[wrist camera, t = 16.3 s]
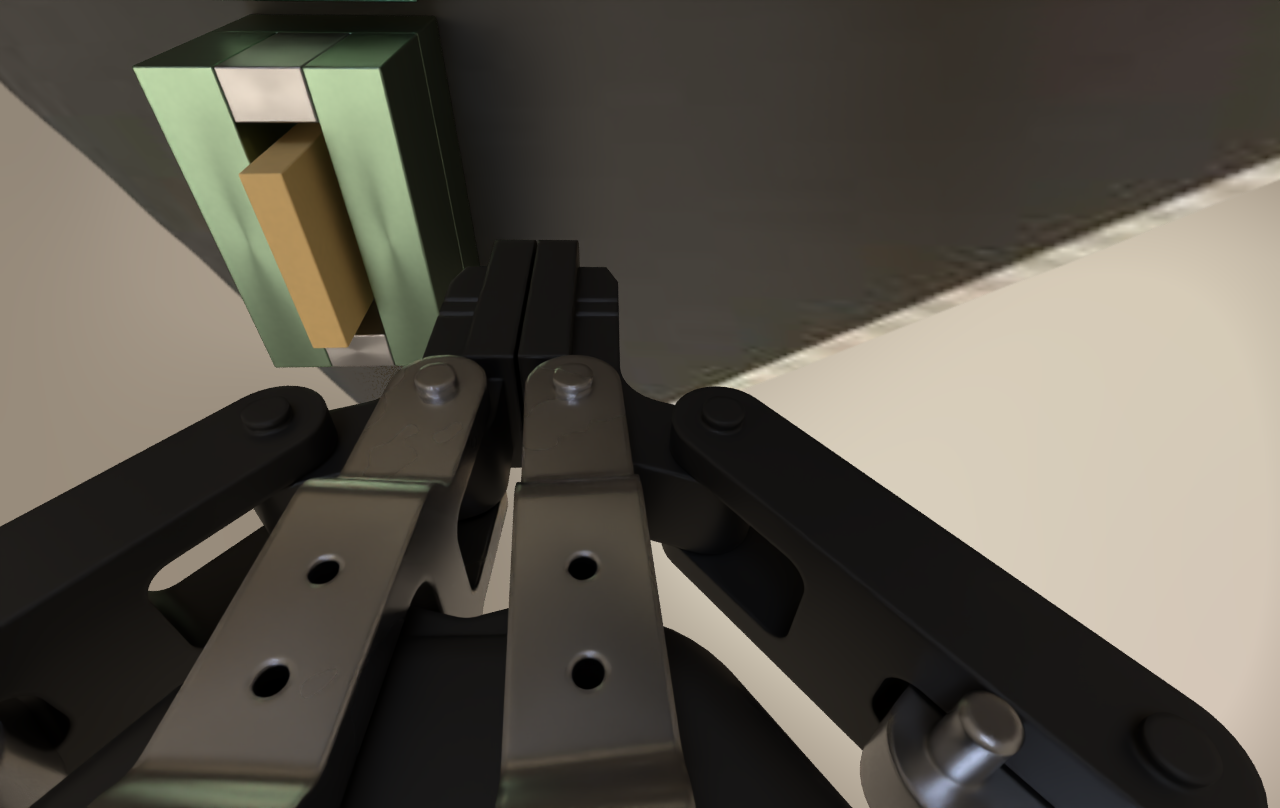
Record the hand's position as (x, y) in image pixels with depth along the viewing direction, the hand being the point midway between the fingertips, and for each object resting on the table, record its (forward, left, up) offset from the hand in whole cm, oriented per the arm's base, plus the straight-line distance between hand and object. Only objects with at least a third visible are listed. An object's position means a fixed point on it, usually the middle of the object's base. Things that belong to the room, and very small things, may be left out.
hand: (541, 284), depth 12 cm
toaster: (+7, -12, -25) cm, 29 cm away
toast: (+7, -12, -21) cm, 25 cm away
